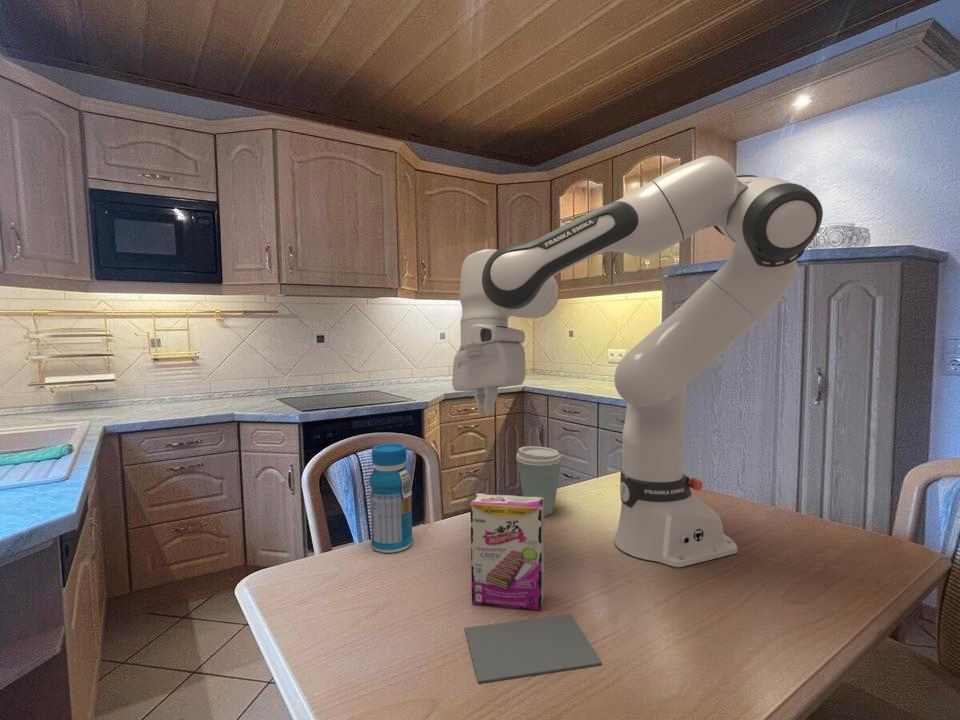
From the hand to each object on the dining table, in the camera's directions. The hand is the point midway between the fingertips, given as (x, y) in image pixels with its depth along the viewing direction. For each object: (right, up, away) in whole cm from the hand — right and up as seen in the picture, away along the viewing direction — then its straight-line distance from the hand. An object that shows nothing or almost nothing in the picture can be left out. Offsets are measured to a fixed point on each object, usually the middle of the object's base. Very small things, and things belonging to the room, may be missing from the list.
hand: (486, 414), depth 89 cm
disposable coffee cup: (+13, -26, +26) cm, 39 cm away
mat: (+5, -29, -23) cm, 37 cm away
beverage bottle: (-19, -28, +10) cm, 35 cm away
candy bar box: (+3, -29, -11) cm, 31 cm away
